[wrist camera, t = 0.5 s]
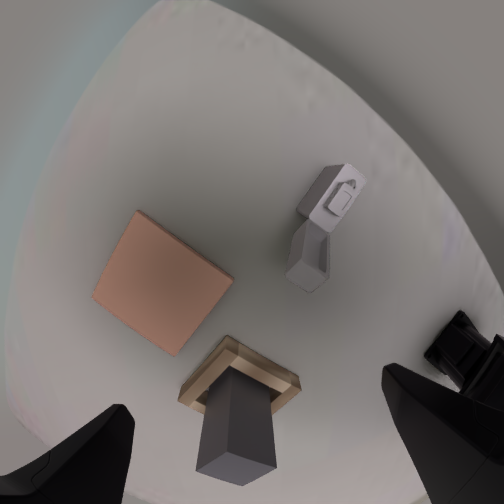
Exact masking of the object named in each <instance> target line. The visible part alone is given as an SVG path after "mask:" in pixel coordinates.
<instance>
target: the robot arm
mask: <svg viewBox="0 0 504 504" xmlns="http://www.w3.org/2000/svg"><path fill="white" fill-rule="evenodd" d="M424 357H425V358H426V360H428V361H429V362H430V363H431V364H432V365H434V366H435V367H436V368H437V369H438V370H440V371H441V372H442V373H443V374H444V375H448V376H449V377H450V379H451V380H452V381H453V382H454V383H455V385H456V386H457V387H458V388H459V389H460V391H459V393H458V392H455V391H453V390H451V389H449V388H447V387H445V386H442V385H440V384H438V383H436V382H434V381H432V380H430V379H428V378H426V377H424V376H421V375H419V374H417V373H415V372H413V371H411V370H409V369H407V368H405V367H403V366H401V365H399V364H397V363H391V364H388V365H385V366H384V367H383V370H382V382H381V386H382V390H383V393H384V396H385V398H386V401H387V404H388V407H389V410H390V412H391V415H392V418H393V421H394V424H395V426H396V428H397V430H398V432H399V434H400V436H401V438H402V440H403V442H404V444H405V446H406V448H407V451H408V453H409V455H410V457H411V459H412V461H413V463H414V465H415V467H416V469H417V472H418V474H419V476H420V478H421V480H422V482H423V485H424V487H425V489H426V491H427V494H428V496H429V498H430V500H431V503H432V504H504V337H502V336H500V335H498V334H496V335H495V337H494V340H493V342H492V343H491V342H489V341H488V340H487V339H486V338H485V337H483V336H482V335H481V334H480V333H479V332H478V331H477V329H476V328H475V326H474V325H473V324H472V322H471V321H470V319H469V318H468V317H467V315H466V314H465V313H464V312H463V311H459V312H458V314H457V315H456V316H455V318H454V319H453V320H452V322H451V323H450V324H449V325H448V327H447V328H446V329H445V331H444V332H443V333H442V334H441V335H440V337H439V338H438V339H437V340H436V341H435V343H434V344H433V345H432V346H431V347H430V348H429V350H428V351H427V352H426V353H425V355H424ZM134 428H135V421H134V418H133V417H132V415H131V414H130V412H129V411H128V409H127V408H126V406H125V405H123V404H113V405H112V406H110V407H109V408H108V409H106V410H105V411H104V412H102V413H101V414H100V415H98V416H97V417H96V418H94V419H93V420H91V421H90V422H89V423H87V424H86V425H85V426H83V427H82V428H80V429H79V430H78V431H76V432H75V433H73V434H72V435H71V436H69V437H68V438H66V439H65V440H64V441H62V442H61V443H59V444H58V445H56V446H55V447H54V448H52V449H51V450H49V451H48V452H47V453H45V454H43V455H42V456H40V457H39V458H37V459H36V460H34V461H32V462H30V463H29V464H27V465H25V466H23V467H21V468H19V469H17V470H15V471H13V472H12V473H10V474H7V475H4V476H0V504H121V503H122V498H123V492H124V487H125V483H126V478H127V473H128V468H129V464H130V459H131V453H132V444H133V436H134Z"/></svg>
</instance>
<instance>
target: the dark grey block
mask: <svg viewBox="0 0 504 504" xmlns="http://www.w3.org/2000/svg"><path fill="white" fill-rule="evenodd" d="M276 468H277V464H276V454H275V444H274V433H273V423H272V413H271V402H270V392H269V386H267V385H265V384H263V383H262V382H260V381H258V380H256V379H254V378H252V377H250V376H248V375H246V374H245V373H243V372H241V371H239V370H237V369H235V368H234V367H232V366H230V365H229V366H228V367H227V368H226V369H225V370H224V371H223V372H222V374H221V375H220V376H219V377H218V378H217V379H216V380H215V381H214V382H213V383H212V384H211V385H210V386H209V390H208V396H207V402H206V408H205V414H204V420H203V427H202V433H201V439H200V446H199V452H198V459H197V465H196V471H197V472H199V473H202V474H205V475H208V476H211V477H214V478H217V479H220V480H223V481H226V482H229V483H233V484H236V485H240V486H244V485H246V484H248V483H250V482H252V481H254V480H256V479H258V478H259V477H261V476H263V475H265V474H267V473H269V472H271V471H272V470H274V469H276Z"/></svg>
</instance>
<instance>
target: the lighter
mask: <svg viewBox="0 0 504 504" xmlns="http://www.w3.org/2000/svg"><path fill="white" fill-rule="evenodd" d="M365 184H366V178H365V177H364V176H363V175H362V174H361V173H359V172H358V171H357V170H356V169H355V168H354V167H352V166H351V165H350V164H342V165H335V166H328V167H325V168H324V170H323V171H322V173H321V174H320V175H319V177H318V178H317V180H316V181H315V183H314V184H313V185H312V187H311V188H310V190H309V191H308V192H307V194H306V195H305V197H304V198H303V200H302V201H301V202H300V204H299V205H298V207H297V212H299V213H300V214H302V215H303V216H304V217H306V218H307V220H306V221H305V222H304V223H303V224H302V225H301V226H300V227H299V229H298V230H297V231H296V232H295V233H294V235H293V240H292V244H291V249H290V253H289V258H288V262H287V267H286V271H285V276H286V278H287V279H288V280H290V281H291V282H293V283H294V284H296V285H297V286H299V287H300V288H302V289H303V290H305V291H306V292H308V293H312V292H313V291H314V290H315V289H317V288H318V287H319V286H320V285H321V284H323V283H324V282H325V281H326V280H327V279H329V270H330V235H329V234H328V233H331V232H332V231H333V230H334V228H335V227H336V225H337V224H338V223H339V221H340V220H341V218H343V216H344V215H345V213H346V212H347V211H348V209H349V208H350V206H351V205H352V203H353V202H354V200H355V199H356V198H357V196H358V195H359V192H360V191H361V190H362V188H363V187H364V185H365Z"/></svg>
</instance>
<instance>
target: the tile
mask: <svg viewBox="0 0 504 504" xmlns="http://www.w3.org/2000/svg"><path fill="white" fill-rule="evenodd" d="M233 282H234V278H233V277H231V276H230V275H228V274H227V273H225V272H224V271H223V270H221V269H220V268H218V267H217V266H215V265H214V264H213V263H211V262H210V261H208V260H207V259H206V258H204V257H203V256H201V255H200V254H199V253H197V252H196V251H194V250H193V249H192V248H190V247H189V246H187V245H186V244H185V243H183V242H182V241H181V240H179V239H178V238H176V237H175V236H174V235H172V234H171V233H170V232H168V231H167V230H165V229H164V228H163V227H161V226H160V225H159V224H157V223H156V222H155V221H153V220H152V219H151V218H149V217H148V216H147V215H145V214H144V213H143V212H141V211H140V210H138V211H136V212H135V214H134V216H133V217H132V219H131V221H130V223H129V224H128V226H127V228H126V230H125V231H124V233H123V235H122V237H121V239H120V240H119V242H118V244H117V246H116V248H115V250H114V252H113V254H112V256H111V258H110V259H109V261H108V263H107V265H106V267H105V269H104V271H103V273H102V276H101V278H100V280H99V282H98V284H97V286H96V288H95V290H94V293H93V295H92V297H91V298H93V299H94V300H95V301H96V302H98V303H99V304H100V305H101V306H103V307H104V308H105V309H107V310H108V311H109V312H110V313H112V314H113V315H114V316H116V317H117V318H118V319H120V320H121V321H122V322H124V323H125V324H127V325H128V326H129V327H131V328H132V329H134V330H135V331H136V332H138V333H139V334H141V335H142V336H144V337H145V338H146V339H148V340H149V341H151V342H152V343H154V344H155V345H157V346H158V347H160V348H162V349H163V350H165V351H166V352H168V353H169V354H171V355H173V356H174V357H175V356H176V354H177V353H178V352H179V350H180V349H181V348H182V347H183V345H184V344H185V343H186V342H187V340H188V339H189V338H190V336H191V335H192V334H193V333H194V331H195V330H196V329H197V328H198V326H199V325H200V324H201V322H202V321H203V320H204V319H205V317H206V316H207V315H208V313H209V312H210V311H211V310H212V308H213V307H214V306H215V305H216V303H217V302H218V301H219V299H220V298H221V297H222V296H223V294H224V293H225V292H226V290H227V289H228V288H229V287H230V285H231V284H232V283H233Z"/></svg>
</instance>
